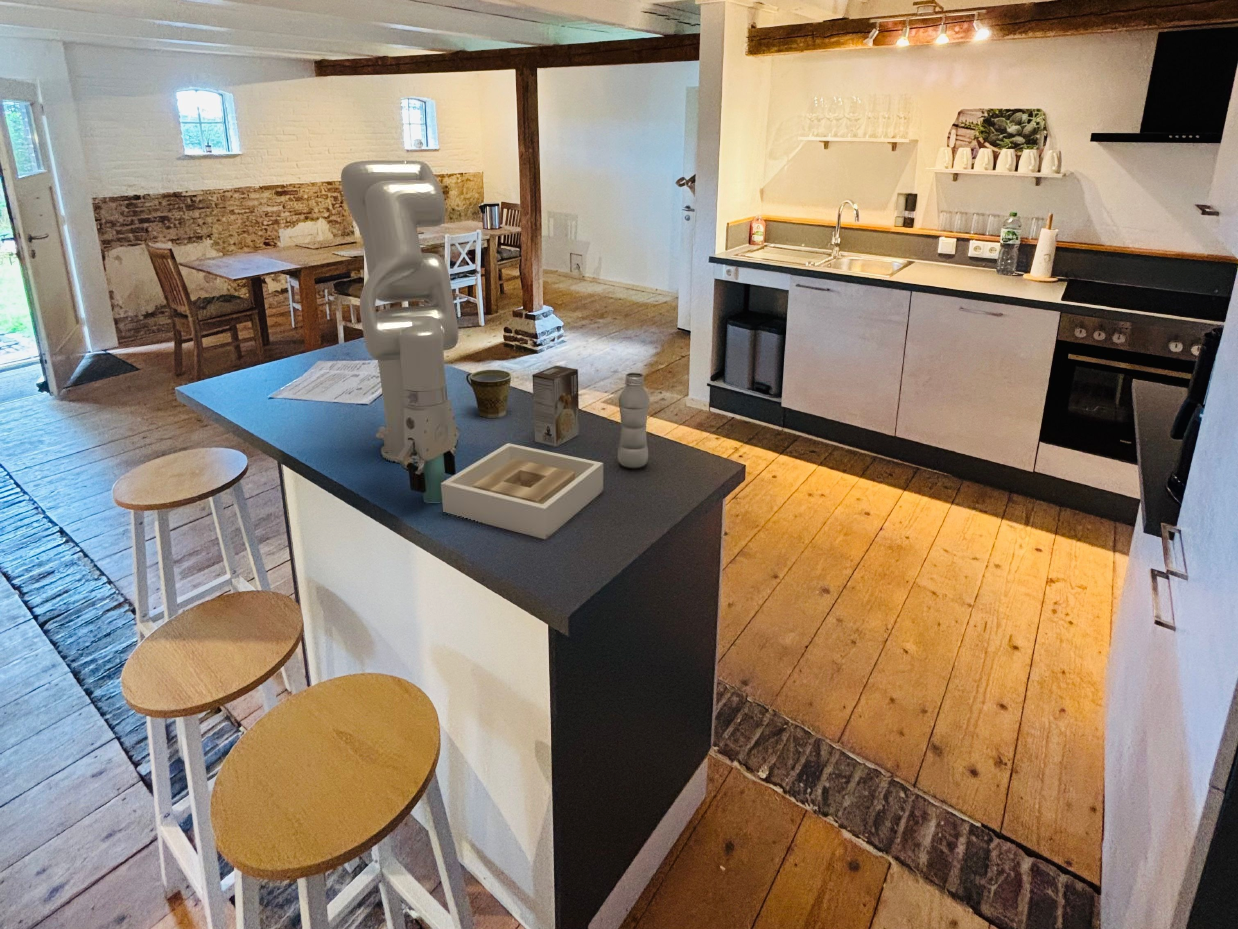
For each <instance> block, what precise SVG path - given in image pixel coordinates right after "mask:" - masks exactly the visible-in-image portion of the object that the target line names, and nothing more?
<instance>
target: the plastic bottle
mask: <svg viewBox="0 0 1238 929" xmlns="http://www.w3.org/2000/svg"><path fill="white" fill-rule="evenodd" d="M625 374H626V375H625V382H624V384H625V385H626V386H625V387H624V388H623V389H622V391H621V393H620V394H619V396H618V407H619V415H620V435H619V436H620V439H619V444H618V449H617V458H618V462H619V463H620V464H621V466H622V467H623V468H628V469H640V468H644V467H645V465H646V464H647V462H648V459H649V448H648V445H647V444H648V443H647V442H648V441H647V440H648V439H647V425H648V424H647V422H648V421H647V420H648V414H649V407H650V403H651V402H650V397H649V394H648V392H647V391H646V390H645V388H644V387H643V386H644V385H645V381H644V379H645V378H644V374H643V373H640V372H627V373H625Z"/></svg>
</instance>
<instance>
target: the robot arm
mask: <svg viewBox="0 0 1238 929" xmlns="http://www.w3.org/2000/svg"><path fill="white" fill-rule="evenodd" d="M340 183H341V189H342V190H341V191H342V195H343V199H344V202H345V203H346V206H347V208H348V211H349V213H350V215H351V217H352V219H353V221H354V223H355V224H356V227H357V228H358V231H359V233H360V236H361V239H362V243H363V244H362V246H363V251H364V256H365V262H366V269H367V275H368V278H367V279H366V281H365V283H364V285H363V288H362V290H361V292H360V298H359V314H360V315H359V316H360V321H361V322H360V323H361V327H362V334H363V340H364V343H365V347H366V350H367V352H368V355H369V356H370V357H372V359H374V360H376V361H377V364H378V370H379V377H380V386H381V393H382V401H383V402H382V403H383V411H384V413H383V414H384V421H385V426H380V427H379V428H378V431H377V432H376V433H375V439H378V440H383V441H384V442H383V443H384V445H383V446H382V447H381V449H380V451H381V455H383V456H382V457H383V458H384V459H385V458H386V459H385V460H387V459H388V461H389V460H390V462H393V461H395V462H394V463H399V464H400V465H401V467H402V469H404V470H405V472H406V473H408V476H409V479H408V480H409V488H410V490H411V491H412V492H417V493H421V494H423V493H425V492H426V483H425V474H424V473H423V472H422V469H423V466H424V463H425V461H430V460H432V459H434V458H436V457H438V456H440V455H442V454H443V457H444V468H445V475H450V476H454V475H456V474H457V473H456V472H457V471H456V461H455V460H456V459H455V458H456V457H455V455H456V454H457V449H456V448H457V446H458V444H459V436H460V432H461V428H460V427H458V426H457V425H456V419H455V414H454V409H453V405H452V402H451V399H450V397H449V396H448V390H447V380H446V379H447V376H446V366H445V354H444V352H445V351H449V350H453V349H454V348H456V346H457V345H458V342H459V326H458V318H457V314H456V308H455V302H454V295H453V291H452V289H453V288H452V285H451V284H452V283H451V277H450V273H449V269H448V266H447V264H446V262H445V260H444V259H443V258H442V256H440V255H439V254H436V253H432V252H423V251H422V248H421V247H422V246H421V243H420V237H419V231H418V228H425V227H426V228H427V227H430V228H431V227H432V228H433V227H440V226H441V225H442V224H443V223H444V222H445V220H446V215H447V210H446V208H447V206H446V200H445V196H444V193H443V190H442V187H441V185H440V183H439V180H438V178H437V177H436V176H435V174H434V172H433V171H432V169H431V167H430V165H429V164H428V163H426V162H424V161H420V160H386V159H385V160H373V159H372V160H371V159H370V160H359V161H355V162H350V163H348V164H347V165H345V166H344V167H343V168H342V171H341V174H340ZM377 300H378V301H379V302H384V303H401V302H402V303H403V302H417V301H418V302H419V301H425V302H427V303H429V304H428V305H417V306H416V305H415V306H410V305H409V306H398V307H397V306H396V307H388V308H385V309H382V310H379V311H377V312H376V302H377ZM415 463H417V464H416V465H415Z"/></svg>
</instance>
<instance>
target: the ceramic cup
mask: <svg viewBox="0 0 1238 929" xmlns="http://www.w3.org/2000/svg"><path fill="white" fill-rule="evenodd" d="M465 376H466V377H465V379H466V382H467V384H468V385H469V386H470V387H471V388H472V391H473V394H474V397H475V400H476V401H475V402H476V404H477V410H478V413H479V416H480V417H481V416H483V418H485V417H486V418H485V419H498V418H501V417H505V416H506V415H507V409H508V407H507V406H508V400H509V393H510V388H511V383H512V382H511V380H512V374H511V373H510V372H509V371H506V370H501V369H485V370H483V369H482V370H478V371H475V372H470V373H467V374H466V375H465Z"/></svg>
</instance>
